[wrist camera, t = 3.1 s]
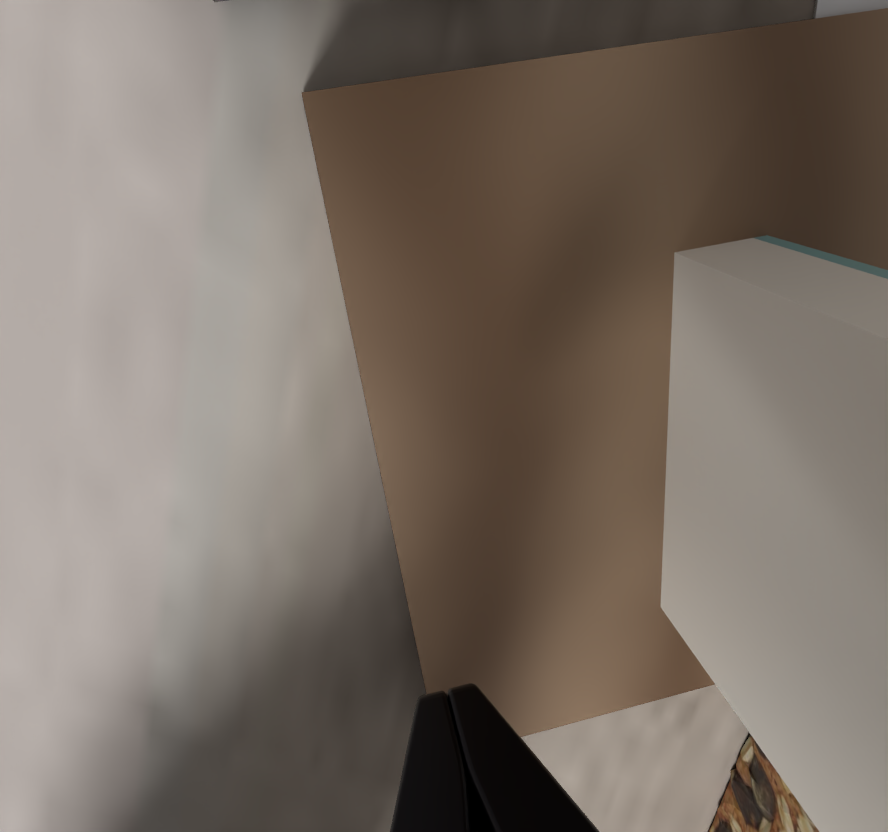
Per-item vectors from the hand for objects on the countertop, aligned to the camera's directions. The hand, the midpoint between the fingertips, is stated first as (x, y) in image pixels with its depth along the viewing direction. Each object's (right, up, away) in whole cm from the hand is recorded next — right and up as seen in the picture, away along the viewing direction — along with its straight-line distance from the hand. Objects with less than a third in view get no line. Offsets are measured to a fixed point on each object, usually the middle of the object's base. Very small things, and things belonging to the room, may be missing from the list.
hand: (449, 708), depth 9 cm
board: (+6, +4, +6) cm, 10 cm away
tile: (+6, +3, +5) cm, 8 cm away
